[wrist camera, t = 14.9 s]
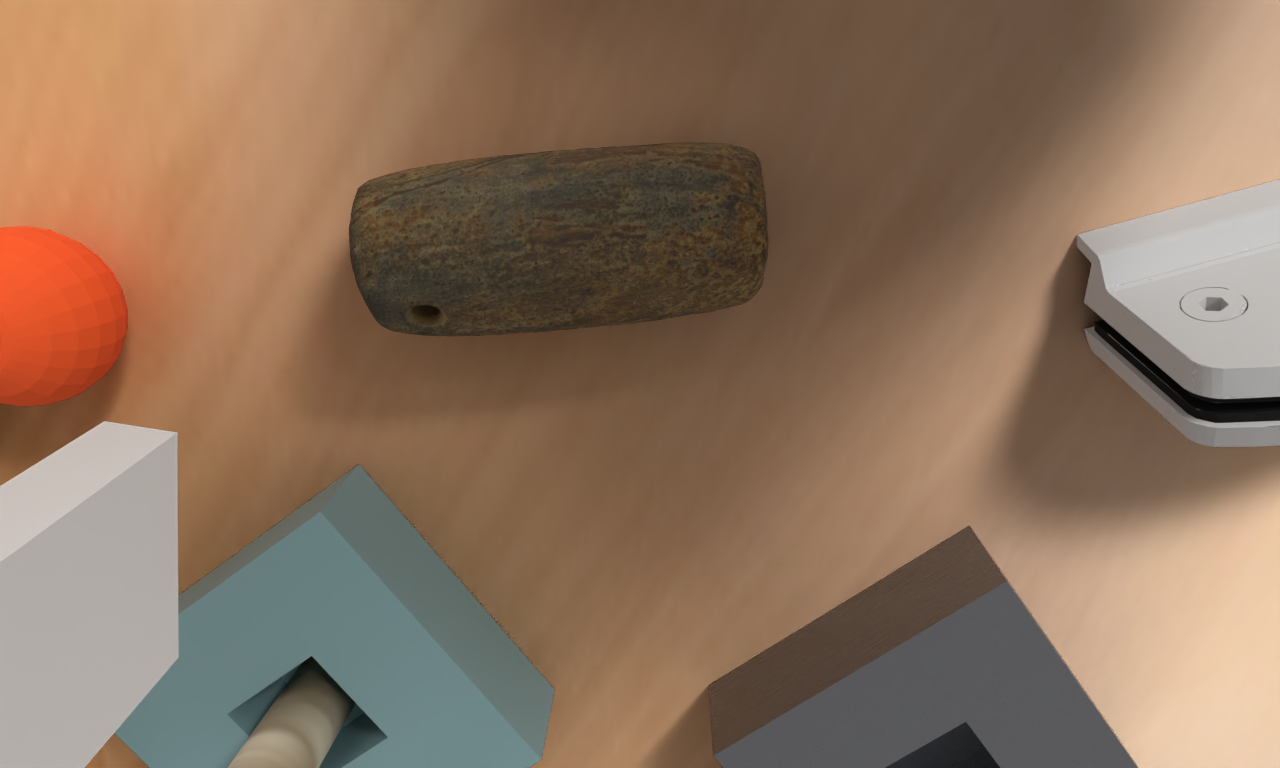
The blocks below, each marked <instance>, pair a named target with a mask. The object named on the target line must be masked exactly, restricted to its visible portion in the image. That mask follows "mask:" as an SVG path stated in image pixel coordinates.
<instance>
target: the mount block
mask: <svg viewBox="0 0 1280 768" xmlns="http://www.w3.org/2000/svg"><path fill="white" fill-rule="evenodd" d="M709 701H710V716H711V731H712V746H713V756H714V757H715V759H716V760H717V761H718V762H719V763H720V765H721V766H722V767H723V768H1138V766H1137V765H1136V763H1135V762H1134V760H1133V759H1132V757H1131V756H1130V754H1129V753H1128V752H1127V750H1126V749H1125V747H1124V746H1123V744H1122V743H1121V741H1120V740H1119V739H1118V737H1117V736H1116V734H1115V733H1114V731H1113V730H1112V729H1111V727H1110V726H1109V724H1108V723H1107V721H1106V720H1105V719H1104V717H1103V716H1102V714H1101V713H1100V711H1099V710H1098V709H1097V707H1096V706H1095V704H1094V703H1093V701H1092V700H1091V699H1090V697H1089V696H1088V694H1087V693H1086V691H1085V690H1084V689H1083V687H1082V686H1081V684H1080V683H1079V681H1078V680H1077V679H1076V677H1075V676H1074V674H1073V673H1072V671H1071V670H1070V669H1069V667H1068V666H1067V664H1066V663H1065V661H1064V660H1063V659H1062V657H1061V656H1060V654H1059V653H1058V651H1057V650H1056V649H1055V647H1054V646H1053V644H1052V643H1051V641H1050V640H1049V639H1048V637H1047V636H1046V634H1045V633H1044V631H1043V630H1042V629H1041V627H1040V626H1039V624H1038V623H1037V621H1036V620H1035V619H1034V617H1033V616H1032V614H1031V613H1030V611H1029V610H1028V609H1027V607H1026V606H1025V604H1024V603H1023V601H1022V600H1021V599H1020V597H1019V596H1018V594H1017V593H1016V591H1015V590H1014V589H1013V587H1012V586H1011V584H1010V583H1009V581H1008V580H1007V579H1006V577H1005V576H1004V574H1003V573H1002V571H1001V570H1000V569H999V567H998V566H997V564H996V563H995V561H994V560H993V559H992V557H991V556H990V554H989V553H988V551H987V550H986V549H985V547H984V546H983V544H982V543H981V541H980V540H979V539H978V537H977V536H976V534H975V533H974V531H973V530H972V529H971V527H970V526H968V527H967V528H965V529H963V530H962V531H960V532H958V533H957V534H955V535H953V536H952V537H950V538H949V539H947V540H945V541H944V542H942V543H940V544H939V545H937V546H936V547H934V548H932V549H931V550H929V551H927V552H926V553H924V554H922V555H921V556H919V557H918V558H916V559H914V560H913V561H911V562H909V563H908V564H906V565H905V566H903V567H901V568H900V569H898V570H896V571H895V572H893V573H891V574H890V575H888V576H887V577H885V578H883V579H882V580H880V581H878V582H877V583H875V584H874V585H872V586H870V587H869V588H867V589H865V590H864V591H862V592H860V593H859V594H857V595H856V596H854V597H852V598H851V599H849V600H847V601H846V602H844V603H843V604H841V605H839V606H838V607H836V608H834V609H833V610H831V611H829V612H828V613H826V614H825V615H823V616H821V617H820V618H818V619H816V620H815V621H813V622H811V623H810V624H808V625H807V626H805V627H803V628H802V629H800V630H798V631H797V632H795V633H794V634H792V635H790V636H789V637H787V638H785V639H784V640H782V641H780V642H779V643H777V644H776V645H774V646H772V647H771V648H769V649H767V650H766V651H764V652H763V653H761V654H759V655H758V656H756V657H754V658H753V659H751V660H749V661H748V662H746V663H745V664H743V665H741V666H740V667H738V668H736V669H735V670H733V671H732V672H730V673H728V674H727V675H725V676H723V677H722V678H720V679H718V680H717V681H715V682H714V683H712V684H710V685H709Z"/></svg>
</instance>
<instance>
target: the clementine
mask: <svg viewBox="0 0 1280 768" xmlns="http://www.w3.org/2000/svg"><path fill="white" fill-rule="evenodd" d="M127 328H128V309H127V305H126V302H125V298H124V294H123V290H122V288H121V287H120V285H119V283H118V281H117V279H116V277H115V276H114V274H113V272H112V271H111V270H110V269H109V267H108V266H107V265H106V264H105V263H104V262H103V261H102V260H101V258H100V257H99V256H98V255H96V254H95V253H93V252H92V251H91V250H89V249H88V248H87V247H85V246H84V245H82V244H81V243H79V242H77V241H74V240H72V239H70V238H68V237H65V236H63V235H60V234H58V233H56V232H53V231H51V230H46V229H39V228H33V227H5V228H0V403H1V404H8V405H16V406H25V407H28V406H38V405H48V404H52V403H55V402H58V401H62V400H65V399H67V398H70V397H72V396H75V395H77V394H80V393H82V392H84V391H85V390H86V389H87V388H89V387H90V386H91V385H92V384H94V383H95V382H96V381H97V380H99V379H100V378H101V377H102V376H103V375H105V374H106V373H107V372H108V371H109V370H110V368H111V367H112V365H113V364H114V362H115V361H116V359H117V358H118V356H119V355H120V351H121V348H122V345H123V342H124V338H125V335H126V331H127Z"/></svg>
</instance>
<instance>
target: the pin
mask: <svg viewBox="0 0 1280 768" xmlns="http://www.w3.org/2000/svg"><path fill="white" fill-rule="evenodd" d="M355 704H356V703H355V702H354V701H353V699H352V698H351V697H350V696H349V695H348V694H347V693H346V692H345V691H344V690H343V689H342V688H341V687H340V686H339V684H338V683H337V682H336V681H335V680H334V679H333V678H332V677H331V676H330V675H329V674H328V673H327V672H326V671H325V670H324V668H323V667H322V666H321V665H320V664H319V663H318V662H317V661H316V660H315V659H314V658H313V657H312V656H311V657H309V658H308V659H307V660H305V661H304V662H302V663H301V665H300V666H299V668H298V669H297V670H296V672H295V673H294V675H293V676H292V678H291V679H290V680H289V682H288V683H287V685H286V686H285V687H284V689H283V690H282V692H281V693H280V694H279V696H278V697H277V699H276V700H275V701H274V703H273V704H272V706H271V707H270V709H269V710H268V711H267V713H266V714H265V716H264V717H263V718H262V720H261V721H260V723H259V724H258V725H257V727H256V728H255V730H254V731H253V732H252V734H251V735H250V737H249V738H248V740H247V741H246V742H245V744H244V745H243V747H242V748H241V749H240V751H239V752H238V754H237V755H236V756H235V758H234V759H233V761H232V762H231V763H230V765H229V766H228V768H319V767H320V765H321V763H322V761H323V760H324V758H325V756H326V754H327V753H328V751H329V749H330V747H331V746H332V744H333V742H334V740H335V739H336V737H337V735H338V733H339V732H340V730H341V728H342V726H343V725H344V723H345V721H346V720H347V718H348V716H349V714H350V713H351V711H352V709H353V707H354V706H355Z"/></svg>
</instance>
